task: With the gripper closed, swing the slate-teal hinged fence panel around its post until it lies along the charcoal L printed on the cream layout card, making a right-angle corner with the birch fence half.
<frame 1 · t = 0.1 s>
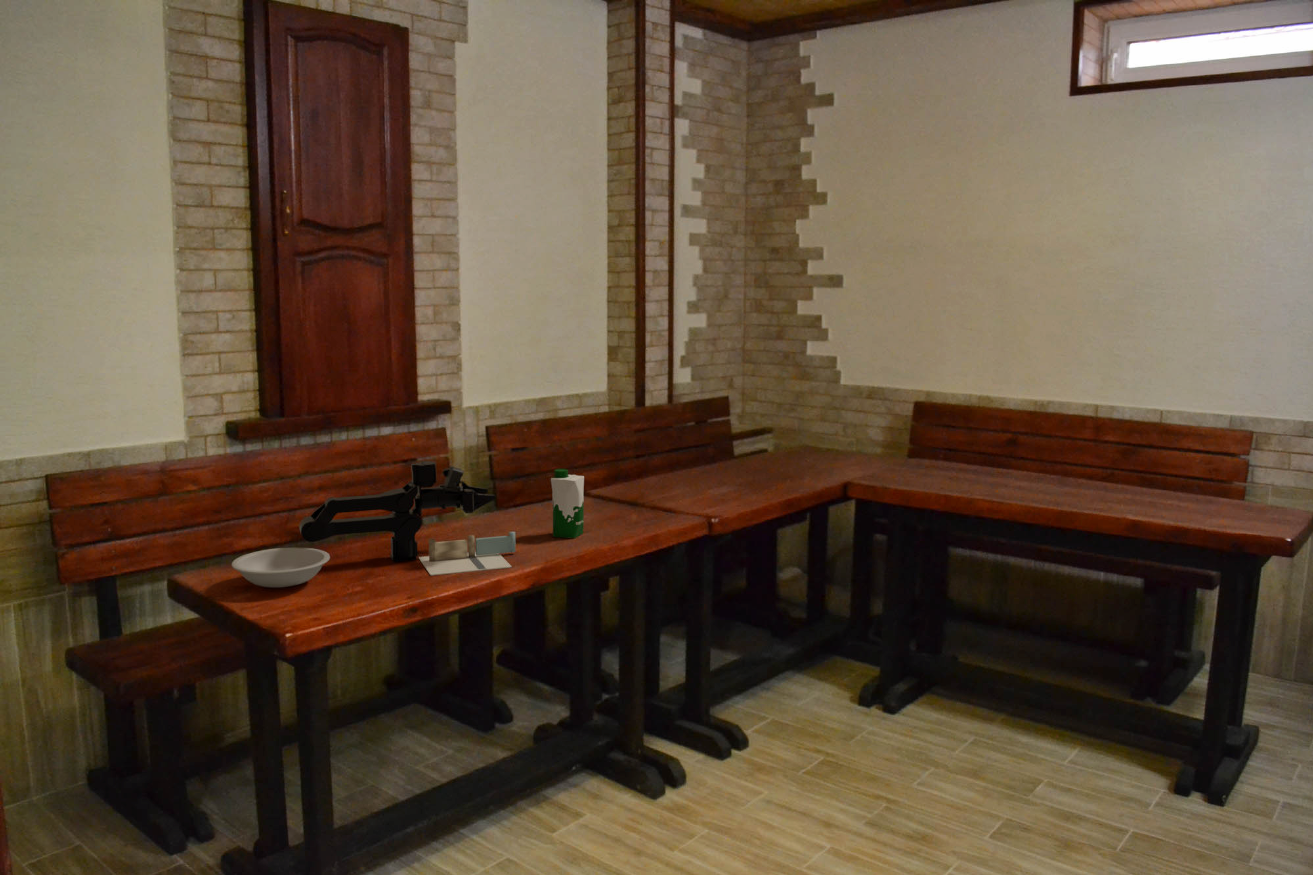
hand: (491, 493, 318), 17 cm above the table, tool horizontal, fingers open, 9 cm apart
fence flap: (495, 543, 315), point 4 cm above the table, hinge at 0.0°
layout card: (464, 562, 308), on the table
fence fixed: (471, 557, 313), resting on layout card
soup bowl: (282, 584, 288), on the table
milk carton: (568, 535, 339), on the table
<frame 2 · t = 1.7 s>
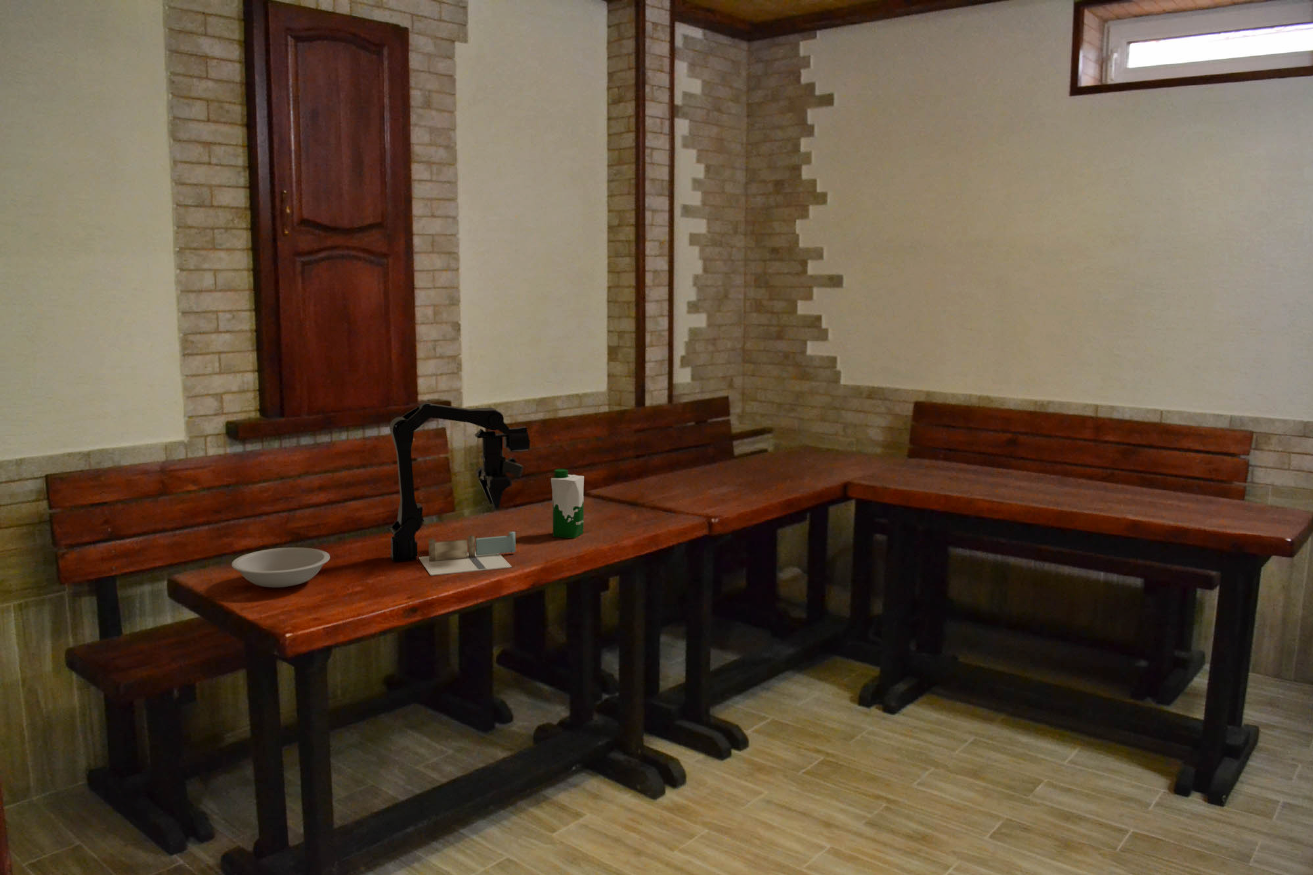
hand: (494, 506, 319), 13 cm above the table, tool pointing down, fingers open, 6 cm apart
nothing on the table moved.
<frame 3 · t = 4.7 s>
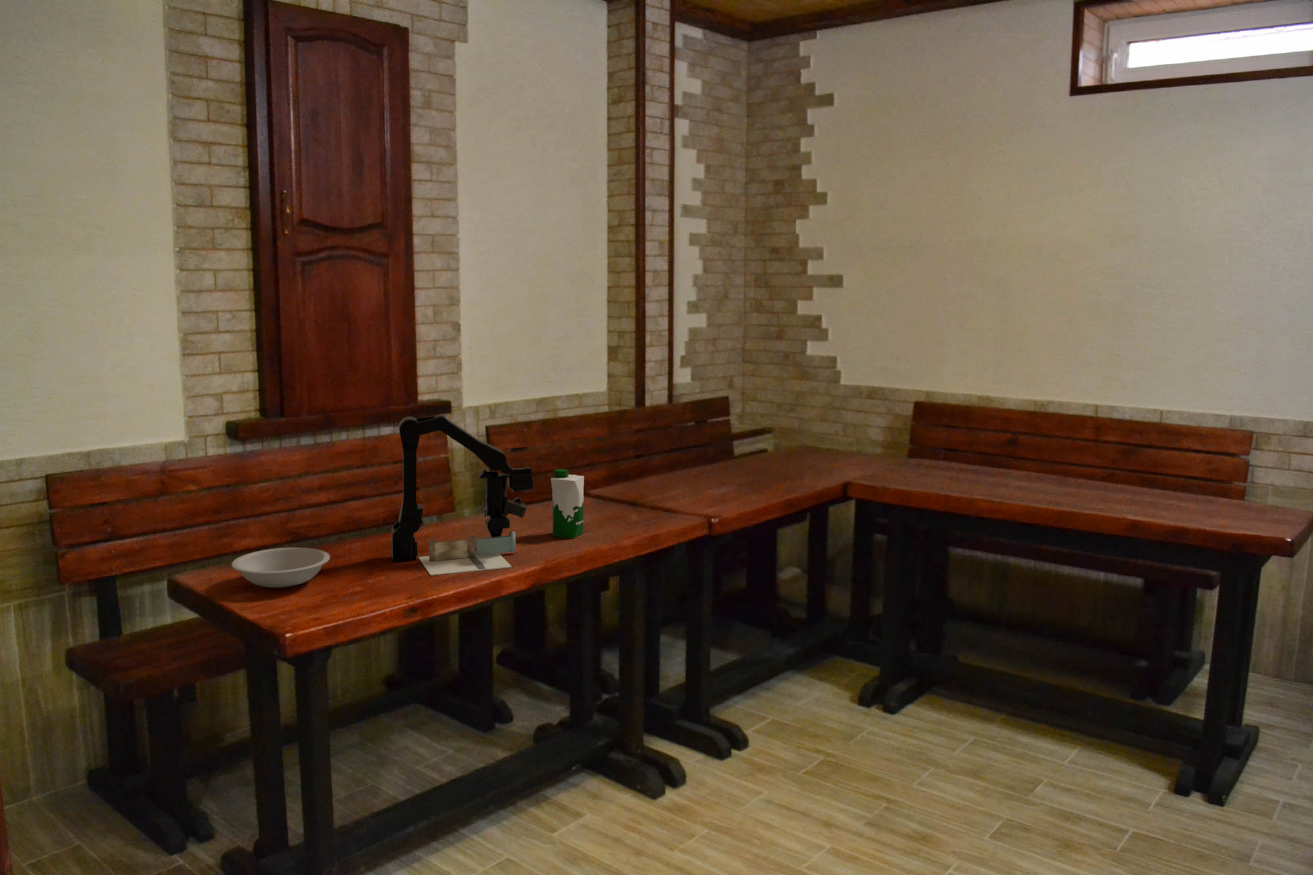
hand: (497, 545, 318), 2 cm above the table, tool pointing down, fingers closed
fence flap: (495, 543, 315), point 4 cm above the table, hinge at 0.0°, touching gripper
everything else where it was.
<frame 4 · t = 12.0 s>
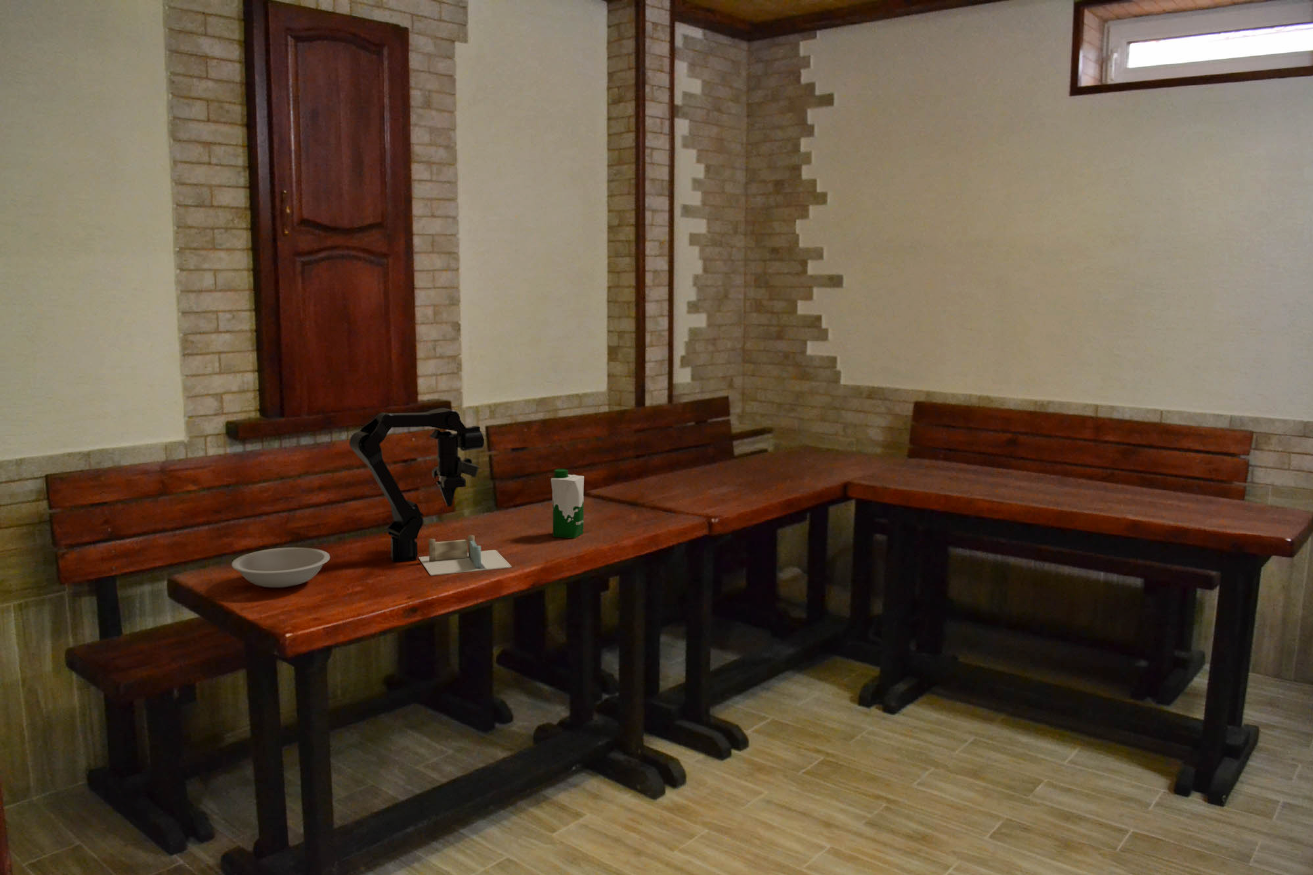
hand: (449, 506, 319), 13 cm above the table, tool pointing down, fingers closed
fence flap: (475, 552, 306), point 4 cm above the table, hinge at -94.4°
everything else where it was.
at the end: fence flap at -94° (first picture: +0°) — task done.
